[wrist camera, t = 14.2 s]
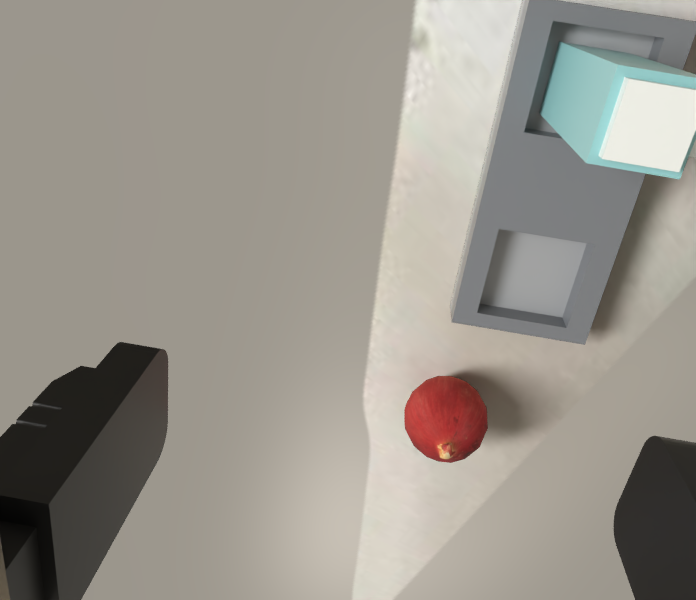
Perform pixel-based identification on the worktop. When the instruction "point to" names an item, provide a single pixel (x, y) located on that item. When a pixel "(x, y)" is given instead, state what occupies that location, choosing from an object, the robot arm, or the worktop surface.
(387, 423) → the worktop surface
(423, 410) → the onion
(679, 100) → the plug
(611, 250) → the panel
